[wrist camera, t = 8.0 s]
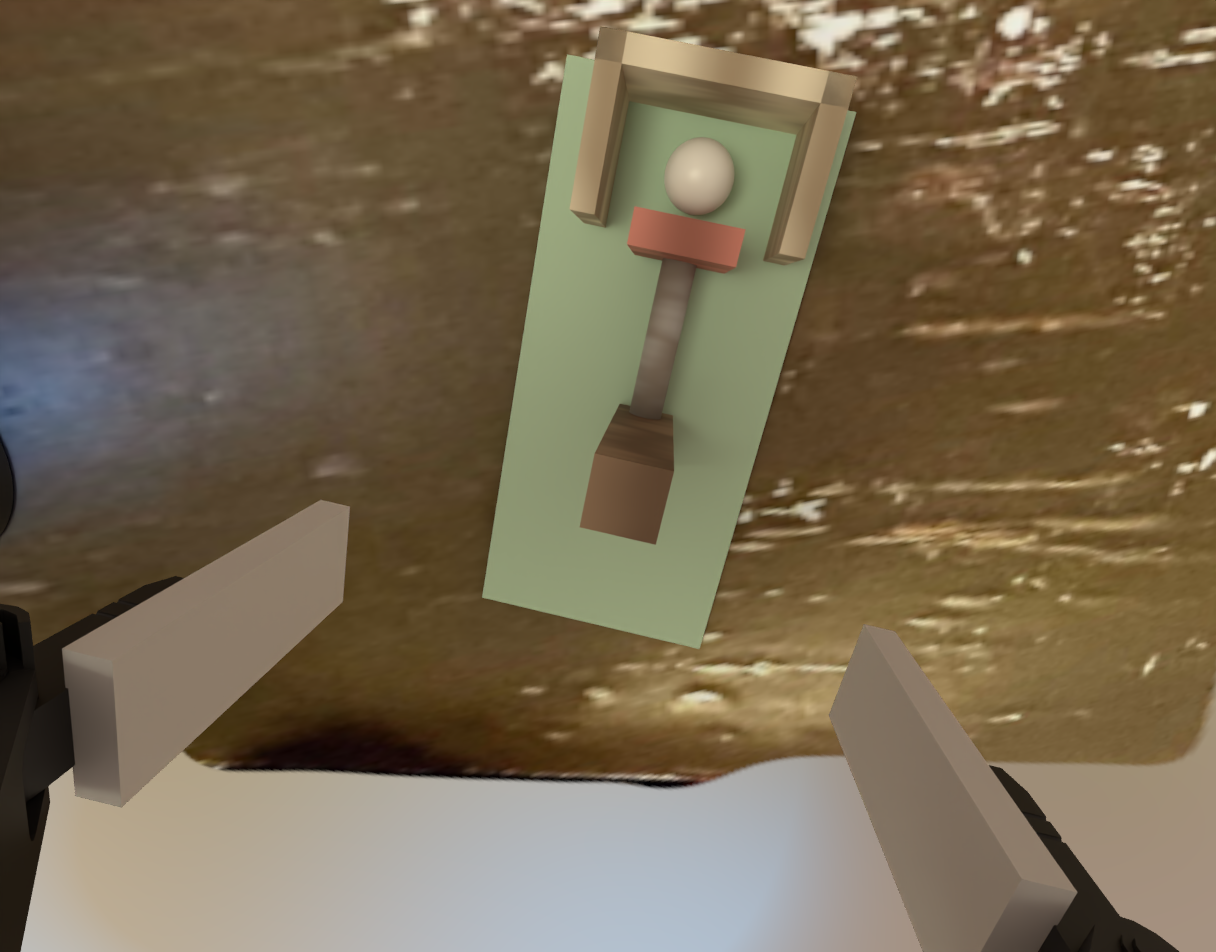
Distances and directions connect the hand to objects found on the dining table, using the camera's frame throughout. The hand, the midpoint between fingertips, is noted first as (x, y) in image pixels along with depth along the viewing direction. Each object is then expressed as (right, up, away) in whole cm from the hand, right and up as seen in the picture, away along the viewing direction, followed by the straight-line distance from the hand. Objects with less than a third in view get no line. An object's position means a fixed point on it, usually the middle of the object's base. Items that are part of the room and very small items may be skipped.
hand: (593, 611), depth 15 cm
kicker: (+3, +10, +19) cm, 22 cm away
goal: (+5, +20, +17) cm, 26 cm away
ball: (+5, +18, +15) cm, 24 cm away
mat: (+2, +9, +20) cm, 22 cm away
